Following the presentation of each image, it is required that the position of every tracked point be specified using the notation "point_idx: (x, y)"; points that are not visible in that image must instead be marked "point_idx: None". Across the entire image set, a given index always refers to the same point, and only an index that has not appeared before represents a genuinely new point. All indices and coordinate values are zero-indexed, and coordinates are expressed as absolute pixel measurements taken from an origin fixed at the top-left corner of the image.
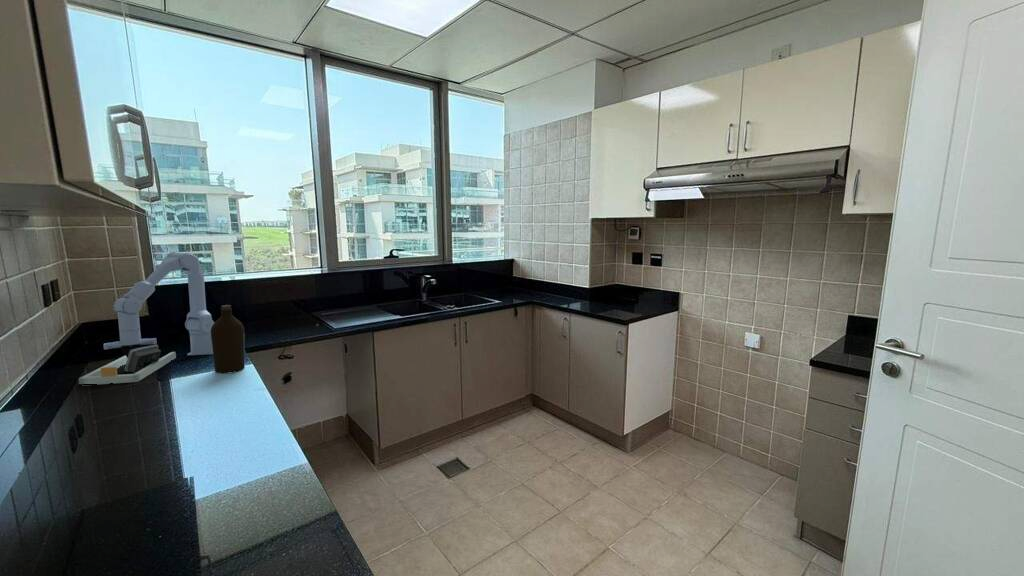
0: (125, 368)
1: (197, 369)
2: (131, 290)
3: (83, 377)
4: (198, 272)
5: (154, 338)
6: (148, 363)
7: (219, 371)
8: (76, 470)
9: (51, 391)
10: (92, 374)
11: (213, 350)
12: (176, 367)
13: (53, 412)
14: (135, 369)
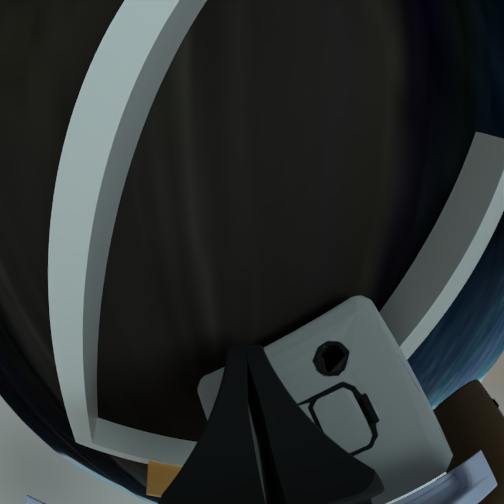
0: (205, 403)
1: (427, 393)
2: None
3: (84, 442)
4: None
5: (484, 492)
6: (341, 351)
7: None
8: None
9: (40, 414)
10: (90, 429)
11: (448, 467)
12: (413, 360)
13: (137, 484)
14: None
